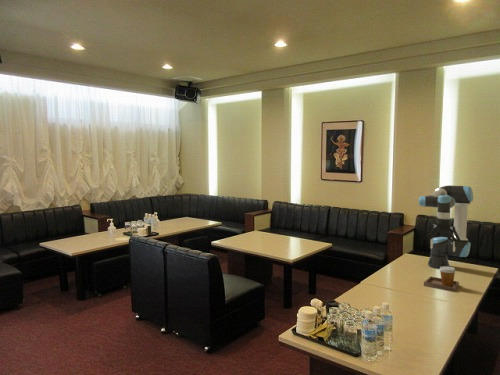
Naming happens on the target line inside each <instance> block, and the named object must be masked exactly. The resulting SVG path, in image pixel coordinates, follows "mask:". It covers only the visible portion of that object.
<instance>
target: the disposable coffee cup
mask: <svg viewBox="0 0 500 375" xmlns="http://www.w3.org/2000/svg"><path fill="white" fill-rule="evenodd" d="M438 270H439V271H440V272H439V273H440V278H441V281H442V285H443V286H449V287H453V281H455V280H454V279H455V274H456V269H455V267H452V266H449V267H448V266H442V267H440V269H439V268H438Z"/></svg>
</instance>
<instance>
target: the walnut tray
mask: <svg viewBox="0 0 500 375" xmlns="http://www.w3.org/2000/svg"><path fill="white" fill-rule="evenodd" d="M459 285H460V281H456V280H454V281H453V287H449V286H443V285H442V281H441V277H440V278H439V277H434V276H429V277H427V279H426V280H424V281H423V286H425V287H429V288H434V289H438V290H444V291H449V292H453V293H455V291H456V290H457V289H458V288H459Z"/></svg>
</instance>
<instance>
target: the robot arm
mask: <svg viewBox="0 0 500 375" xmlns="http://www.w3.org/2000/svg"><path fill="white" fill-rule="evenodd" d="M473 201H474V192H473V188H472V187H471V186H469V185H444V186H440V187H437V188H436V189H435V190H434V191H433V192H431V193H430V194H428V195H420V196H419V198H418V205H419V206H420V207H424V208H425V207H427V208H437V213H436V214H437V215H436V216H437V217H436V218H437V222H436V224H435V223H433V224H432V225H431V227H430V229H429V231H428V233H427V234H426V236H425V237H426V238H428V243H429V244H430V256H429V259H428V261H427V266H429V267H430V268H435V269H438V270H439V269H440V267H442V266H448V267H450V261H449V260H448V255H449V256H454V257H461V258H466V257H468V256H469V254H470V252H471V251H470V250H471V242H470V241H469V239H468V238H467V229H468V228H467V227H468V226H467V223H468V208H469V206H470V205H471V203H472V202H473ZM453 207H454V214H453V215H454V216H453V226H451V209H452V208H453ZM435 228H436V231H435V230H434V229H435ZM433 230H434V232H433ZM450 230H452V232H453V233H452V232H451V231H450ZM432 232H433V233H432ZM439 232H440V233H445V234H446V233H447V234H448V235H449V236H450V239H449V238H448V237H446V236H437V237H434V236H436V235H437V234H438V233H439Z"/></svg>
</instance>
